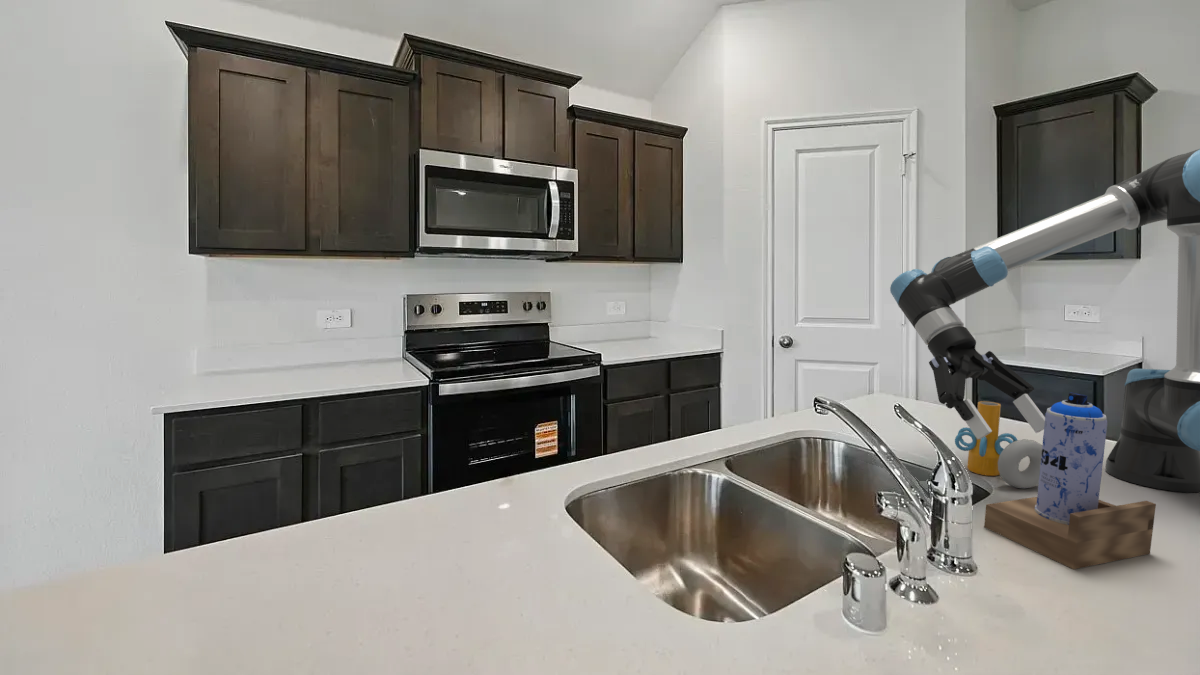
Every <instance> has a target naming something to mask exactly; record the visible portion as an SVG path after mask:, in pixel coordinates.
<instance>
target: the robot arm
mask: <svg viewBox="0 0 1200 675" xmlns="http://www.w3.org/2000/svg"><path fill="white" fill-rule="evenodd" d="M1161 221H1166V227H1167V228H1166V229H1168V230H1170V231H1171V232H1173V233H1175V234H1176V235H1177V237H1178V246H1177V248H1178V250H1177V251H1178V252H1177V254H1178V256H1177V258H1178V259H1177V261H1178V262H1177V301H1176V303H1177V306H1176V308H1177V310H1176V313H1177V314H1176V358H1175V360H1176V361H1175V366H1174V367H1173V368H1172V369H1158V368H1157V369H1155V368H1133V369H1131V370H1129V371H1128V372H1127V375H1126V380H1125V383H1124V394H1123V395H1124V396H1123V407H1122V415H1121V426H1120V433H1119V438H1118V439H1117V441H1116V443H1115V444H1114V446H1113V448H1112V449H1111V451H1110V453H1109V455H1108V456H1107V458H1106V460H1105V471H1106V473H1108V474H1109V475H1111V476H1113V477H1115V478H1116V479H1120V480H1122V481H1125V482H1128V483H1132V484H1136V485H1140V486H1144V487H1147V488H1153V489H1159V490H1165V491H1171V492H1172V491H1173V492H1178V493H1179V492H1180V493H1181V492H1182V493H1199V492H1200V148H1198V149H1195V150H1191V151H1189V152H1186V153H1182V154H1179V155H1176V156H1173V157H1170V158H1167V159H1165V160H1163V161H1161V162H1159V163H1157V164H1155V165H1153V166H1151V167H1149V168H1147V169H1145V170H1144V171H1142V172H1139V173H1138V174H1136V175H1133V176H1131V177H1129V178H1127V179H1125V180H1123V181H1120V182H1119V183H1116V184H1114V185H1111V186H1109V187H1107V189H1106V191H1105V193H1104V194H1103V195H1102V194H1101V195H1099V196H1097V197H1095V198H1092V199H1090V200H1088V201H1085V202H1082V203H1079V204H1078V205H1075V206H1073V207H1070V208H1067V209H1066V210H1063V211H1060V212H1058V213H1056V214H1053V215H1050V216H1048V217H1046V218H1043V219H1040V220H1038V221H1036V222H1033V223H1030V224H1028V225H1026V226H1023V227H1021V228H1019V229H1016V230H1014V231H1012V232H1008V233H1007V234H1004V235H1001V236H1000V237H997V238H993V239H991V240H989V241H986V242H984V243H982V244H979V245H976V246H974V247H972V248H971V249H968V250H964V251H963V252H962V251H961V252H960V253H958V254H955V255H953V256H947V257H944V258H942V259H940V260H939V261H936V263H935V264H934V265H933V266H932V269H931V271H930V272H929V273H928V274H927V273H926V272H924V270H922V269H919V268H915V269H914V268H913V269H912V270H906V271H904V272H902V273H901V274H899V275H898V276H897V277H896V278H895V279H893V281H892V283H891V284H890V287H889V289H890V290H889V291H890V294H891V295H892V297H893V298H894V300H895V302H896V304H897V306H898V308H899V309H900V310H901V311H902V312H903V314H904V316H906V318H907V320H908V322H909V323H910V324H911V325H912V327H913V328H914V330H915V331H916V333H917V334H918V335H919V337H920V338H921V340H922V341H923V343H924V344H925V345H927V349H928V350H929V352H930V353H931V355H932V358H931V359H930V361H928V364H929V366H930V368H931V369H932V372H933V377H934V381H935V382H934V383H935V388H936V392H937V398H938V401H939V403H940V404H942V405H945V407H947V409H950V410H952V408H954V409H955V411H956V412H957V413H958V415H959V416H960V418H961V419H962V420H963V421H964V422H965V423H966V424H967V427H968V428H970V429H971V431H972V432H973V434H974V435H975V436H976V438H977V439H982V438H983V437H985V436H986V435H988V434H989V433H991V432H992V430H991V429H990V427H989V426H988V424H987V423H986V422H985V420H984V419H983V417H982V416H981V414H980V413H979V412H978V410H977V407H976V405H975V404H974V403H973V402H972V400H971V399H970V398H965V395H966V380H967V379H969V378H970V379H977V380H978V381H985V382H986V383H987V384H989V385H991V386H993V387H994V388H996V389H997V390H999V391H1001V392H1002V393H1004V394H1006V395H1007V396H1009V397H1010V398H1012V399H1014V400H1013V401H1012V403H1013V405H1014V406H1015V407H1016V408H1017V410H1018V412H1019V413H1020V414H1021V415H1022V416H1023V418H1024V419H1025V420H1026V422H1027V423H1028V424H1029V426H1030V428H1032V430H1033V431H1034V432H1035V433H1036V434H1037V433H1041V432H1042V431H1044V425H1045V414H1043V413H1042V411H1041V410H1040V409H1039V406H1038V405H1037V404H1036V403H1035V401H1034V400H1033V399H1032V398H1031V396H1030V393H1032V392H1033V391H1034V390H1035V388H1034V386H1033V385H1032V384H1030V383H1029V382H1028V381H1026V380H1025V379H1024V378H1023V377H1021V375H1019V374H1018V373H1016V372H1015V371H1014V370H1013V369H1012V368H1010V367H1009V366H1008V365H1007V364H1005V363H1004V362H1002V361H1001V360H1000V359H999V358H998V357H997V356H996V354H995V353H994V352H993V351H991V350H988V351H987V352H986V353H984V354H981V353H980V352H978V351H977V349H976V345H977V341H976V339H975V337H974V336H973V335H972V334H971V332H970V331H969V329H968V328H967V327H965V326H964V322H963V321H962V320H961V318H960V317H959V316H958V314H956V312H955V311H954V310H953V309H952V307H951V306H950V305H954V304H955V303H957V302H959V301H961V300H963V299H967V298H968V297H970V296H972V295H974V294H977V293H979V292H981V291H984V290H985V289H987V288H990V287H994V285H995V284H998V282H1001V281H1002V280H1005V279H1006V278H1007V277H1008V274H1009V272H1010V271H1013V270H1016V269H1018V268H1021V267H1023V266H1026V265H1029V264H1031V263H1033V262H1036V261H1040V260H1042V259H1045V258H1046V257H1047V258H1048V257H1049V256H1052V255H1055V254H1057V253H1060V252H1063V251H1066V250H1068V249H1071V248H1073V247H1076V246H1078V245H1081V244H1084V243H1086V242H1089V241H1091V240H1094V239H1096V238H1100V237H1102V236H1105V235H1107V234H1111V233H1112V232H1116V231H1119V230H1121V229H1126V230H1128V231H1129V230H1131V231H1132V230H1135V229H1138V228H1140V227H1142V226H1146V225H1148V224H1152V223H1157V222H1161Z"/></svg>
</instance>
